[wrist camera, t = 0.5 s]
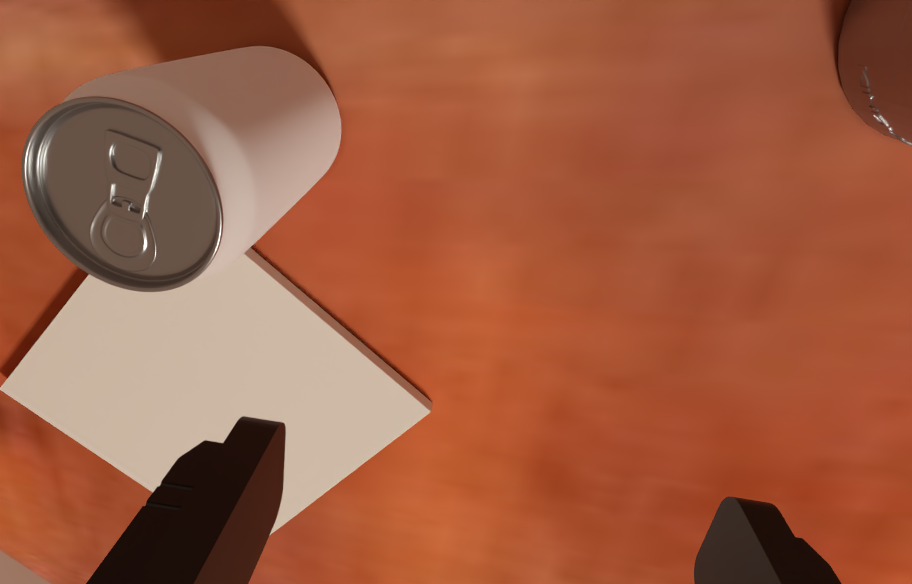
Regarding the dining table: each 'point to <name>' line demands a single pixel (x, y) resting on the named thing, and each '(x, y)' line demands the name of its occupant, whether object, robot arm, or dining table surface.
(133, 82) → the can
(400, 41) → the dining table surface
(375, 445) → the tile mat
